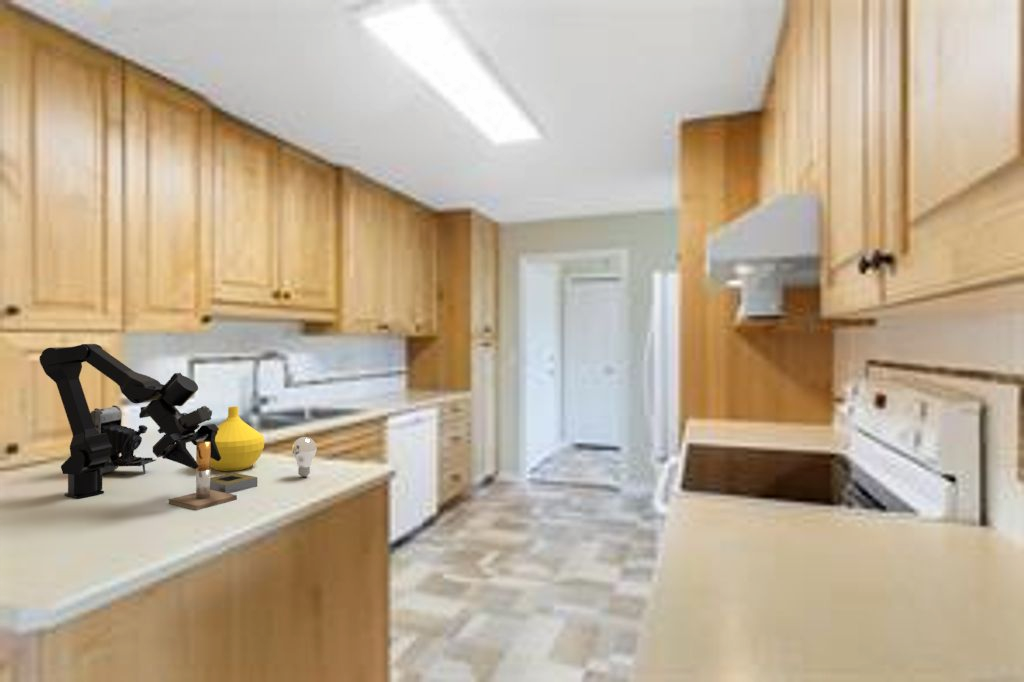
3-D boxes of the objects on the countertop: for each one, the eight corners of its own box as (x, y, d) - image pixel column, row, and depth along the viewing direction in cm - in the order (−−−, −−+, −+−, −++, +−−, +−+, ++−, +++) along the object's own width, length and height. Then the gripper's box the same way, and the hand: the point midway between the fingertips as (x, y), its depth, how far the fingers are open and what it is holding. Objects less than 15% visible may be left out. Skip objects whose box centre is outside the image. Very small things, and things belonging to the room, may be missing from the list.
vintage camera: (137, 480, 174) (141, 411, 174) (84, 476, 174) (88, 408, 174) (157, 472, 184) (161, 407, 184) (107, 469, 184) (111, 404, 184)
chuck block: (225, 494, 159) (225, 484, 159) (201, 489, 164) (201, 479, 164) (257, 486, 168) (257, 477, 168) (233, 481, 173) (233, 472, 172)
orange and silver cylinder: (197, 499, 150) (197, 443, 150) (194, 496, 153) (195, 441, 152) (211, 497, 152) (211, 442, 152) (208, 494, 155) (208, 440, 154)
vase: (193, 475, 178) (194, 411, 178) (207, 462, 196) (207, 404, 195) (260, 473, 183) (260, 410, 183) (267, 460, 201) (268, 403, 200)
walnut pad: (196, 510, 145) (196, 505, 145) (168, 503, 150) (168, 499, 150) (236, 499, 155) (236, 495, 155) (209, 493, 160) (209, 489, 160)
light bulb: (320, 474, 182) (320, 435, 182) (310, 480, 175) (310, 439, 175) (298, 474, 183) (298, 434, 182) (287, 479, 176) (287, 438, 175)
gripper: (164, 401, 143) (207, 449, 142) (212, 393, 162) (250, 436, 161) (133, 432, 144) (175, 481, 143) (185, 421, 163) (222, 464, 162)
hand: (208, 463), depth 152 cm, fingers open, 9 cm apart
